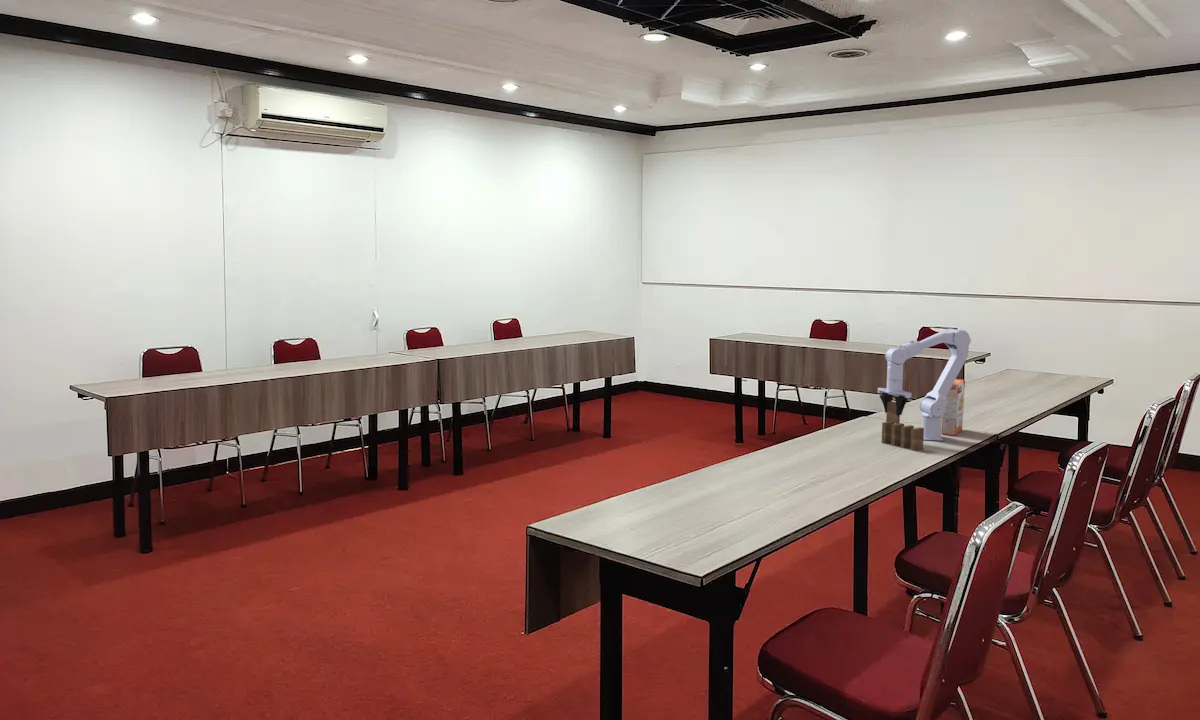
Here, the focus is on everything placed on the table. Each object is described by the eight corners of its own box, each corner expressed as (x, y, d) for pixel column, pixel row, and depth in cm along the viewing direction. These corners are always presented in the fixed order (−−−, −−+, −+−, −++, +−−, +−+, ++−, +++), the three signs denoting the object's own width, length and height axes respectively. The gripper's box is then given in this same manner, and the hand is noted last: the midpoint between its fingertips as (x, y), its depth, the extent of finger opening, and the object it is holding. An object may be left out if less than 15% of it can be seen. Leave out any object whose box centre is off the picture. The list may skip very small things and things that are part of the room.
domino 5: (910, 450, 315) (911, 428, 314) (919, 448, 318) (920, 427, 316) (914, 450, 314) (914, 429, 313) (923, 449, 316) (923, 428, 315)
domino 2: (881, 442, 327) (882, 422, 325) (890, 441, 329) (891, 421, 328) (884, 443, 325) (885, 423, 324) (893, 442, 328) (894, 421, 327)
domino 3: (890, 445, 323) (891, 424, 322) (899, 443, 325) (900, 423, 324) (894, 446, 321) (895, 425, 320) (903, 444, 324) (904, 423, 323)
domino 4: (900, 447, 319) (901, 426, 318) (909, 445, 321) (910, 425, 320) (904, 448, 318) (904, 427, 316) (913, 446, 320) (913, 425, 319)
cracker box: (956, 436, 337) (959, 384, 334) (940, 434, 340) (943, 383, 337) (963, 429, 348) (966, 379, 345) (947, 428, 351) (950, 378, 349)
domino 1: (889, 421, 333) (889, 401, 332) (899, 423, 328) (900, 403, 327) (886, 421, 332) (887, 401, 331) (896, 423, 328) (897, 403, 326)
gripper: (872, 377, 332) (871, 411, 334) (903, 382, 320) (901, 418, 321) (885, 376, 336) (883, 409, 337) (915, 380, 323) (914, 416, 325)
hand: (893, 413), depth 330 cm, fingers closed on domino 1, 5 cm apart
